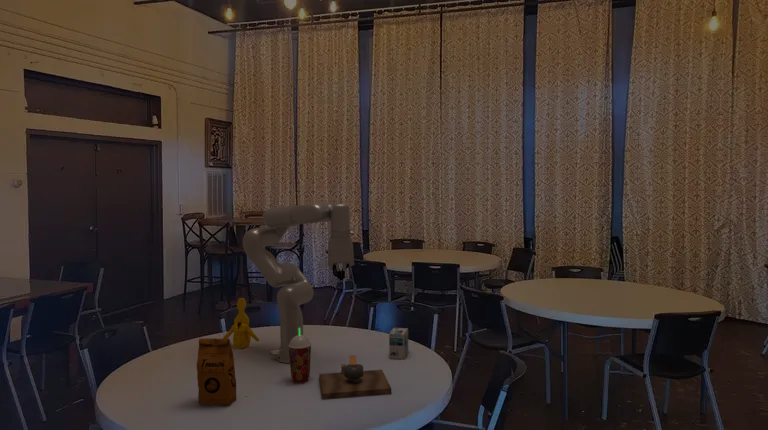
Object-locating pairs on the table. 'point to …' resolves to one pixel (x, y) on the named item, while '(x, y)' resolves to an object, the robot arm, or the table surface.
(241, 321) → the figure statuette
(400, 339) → the light bulb box
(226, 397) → the coffee package
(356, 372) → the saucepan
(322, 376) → the wooden board with lever
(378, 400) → the table surface
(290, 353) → the smoothie
